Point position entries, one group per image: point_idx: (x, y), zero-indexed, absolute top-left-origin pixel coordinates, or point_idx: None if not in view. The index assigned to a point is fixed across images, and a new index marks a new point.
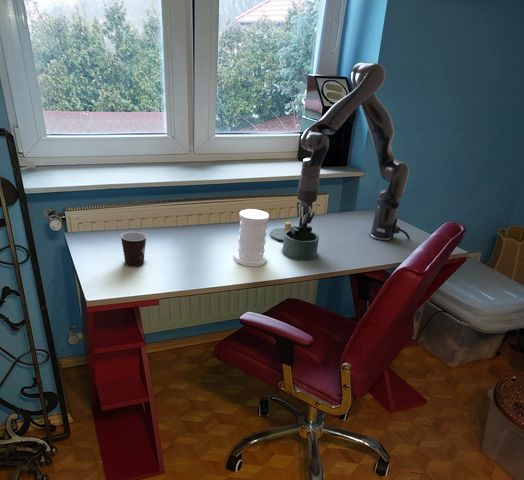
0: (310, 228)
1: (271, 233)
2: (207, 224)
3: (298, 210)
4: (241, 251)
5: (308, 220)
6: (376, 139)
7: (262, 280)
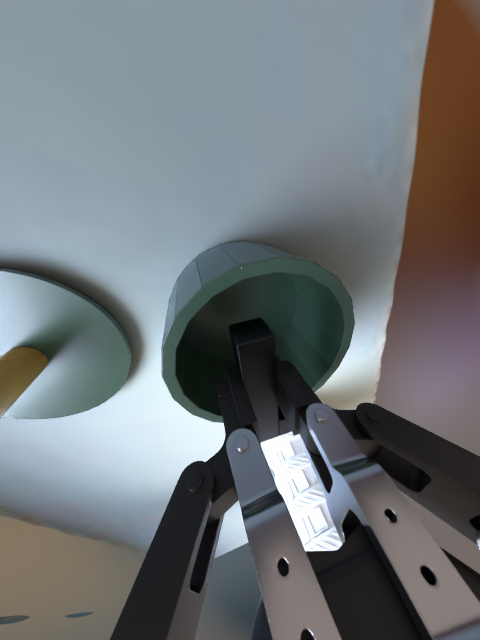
0: (273, 343)
1: (64, 412)
2: (58, 527)
3: (202, 602)
4: None
5: (383, 442)
6: None
7: (374, 390)
